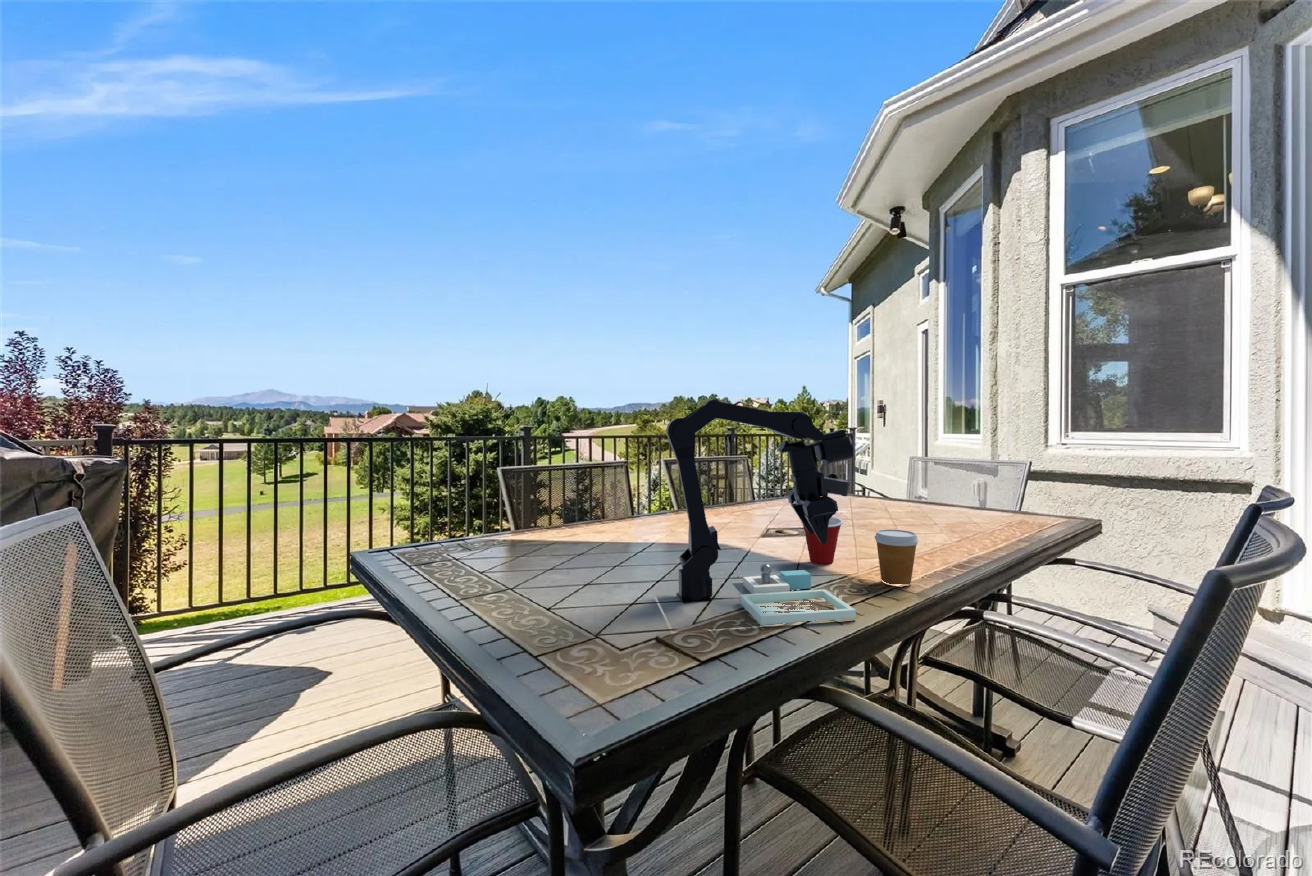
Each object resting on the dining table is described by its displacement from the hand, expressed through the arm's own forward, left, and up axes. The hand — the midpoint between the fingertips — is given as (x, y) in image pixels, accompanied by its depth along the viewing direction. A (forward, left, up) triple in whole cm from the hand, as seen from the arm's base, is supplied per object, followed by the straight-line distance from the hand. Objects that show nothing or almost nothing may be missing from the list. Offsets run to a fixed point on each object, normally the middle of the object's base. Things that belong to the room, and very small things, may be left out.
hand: (818, 538), depth 120 cm
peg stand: (-10, +5, -13) cm, 17 cm away
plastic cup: (+13, +25, -13) cm, 31 cm away
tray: (-9, -9, -13) cm, 18 cm away
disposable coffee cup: (+22, +5, -13) cm, 26 cm away
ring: (-7, +5, -12) cm, 15 cm away
